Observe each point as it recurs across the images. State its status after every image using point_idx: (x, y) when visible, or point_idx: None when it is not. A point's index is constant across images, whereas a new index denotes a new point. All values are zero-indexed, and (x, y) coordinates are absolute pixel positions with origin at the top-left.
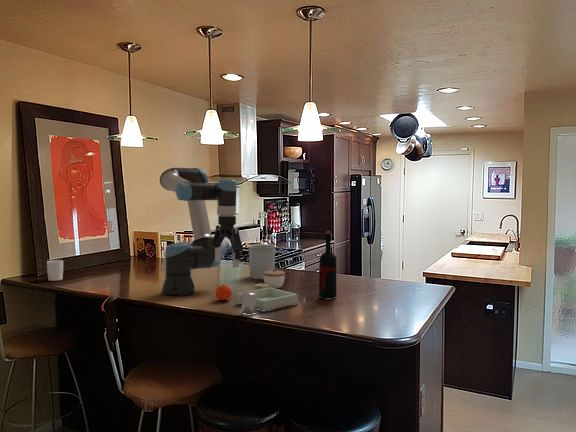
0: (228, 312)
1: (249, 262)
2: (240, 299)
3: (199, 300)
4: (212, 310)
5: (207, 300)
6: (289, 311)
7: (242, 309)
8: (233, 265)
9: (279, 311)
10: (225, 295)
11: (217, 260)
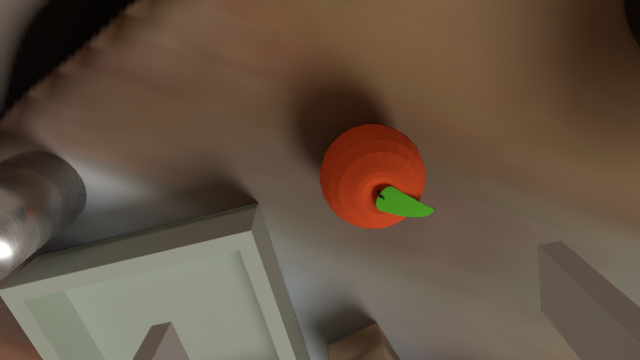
0: (92, 96)
1: None
2: (226, 222)
3: (443, 26)
4: (167, 22)
5: (416, 74)
6: (32, 351)
7: (9, 159)
8: (147, 343)
9: None
10: (320, 169)
11: (554, 281)
